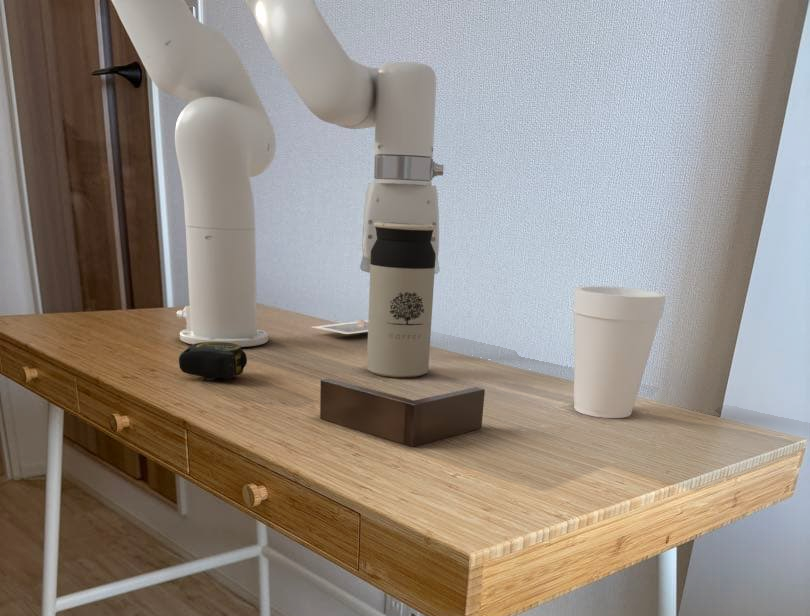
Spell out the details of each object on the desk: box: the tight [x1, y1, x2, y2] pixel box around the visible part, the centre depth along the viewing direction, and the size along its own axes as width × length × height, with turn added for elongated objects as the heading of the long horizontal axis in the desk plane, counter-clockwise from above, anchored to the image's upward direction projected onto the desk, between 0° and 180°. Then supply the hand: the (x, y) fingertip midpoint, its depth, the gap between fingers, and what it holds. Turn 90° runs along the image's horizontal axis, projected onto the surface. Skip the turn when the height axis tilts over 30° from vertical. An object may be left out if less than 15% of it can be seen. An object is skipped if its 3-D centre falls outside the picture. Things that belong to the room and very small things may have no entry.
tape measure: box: [178, 342, 248, 381], centre depth 99 cm, size 7×7×4 cm
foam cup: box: [571, 285, 667, 419], centre depth 91 cm, size 10×9×13 cm
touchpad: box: [311, 319, 368, 335], centre depth 134 cm, size 8×15×2 cm, turn 140°
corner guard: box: [319, 377, 486, 448], centre depth 83 cm, size 13×11×4 cm
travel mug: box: [366, 222, 436, 379], centre depth 104 cm, size 8×8×18 cm
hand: (398, 317), depth 115 cm, fingers closed
